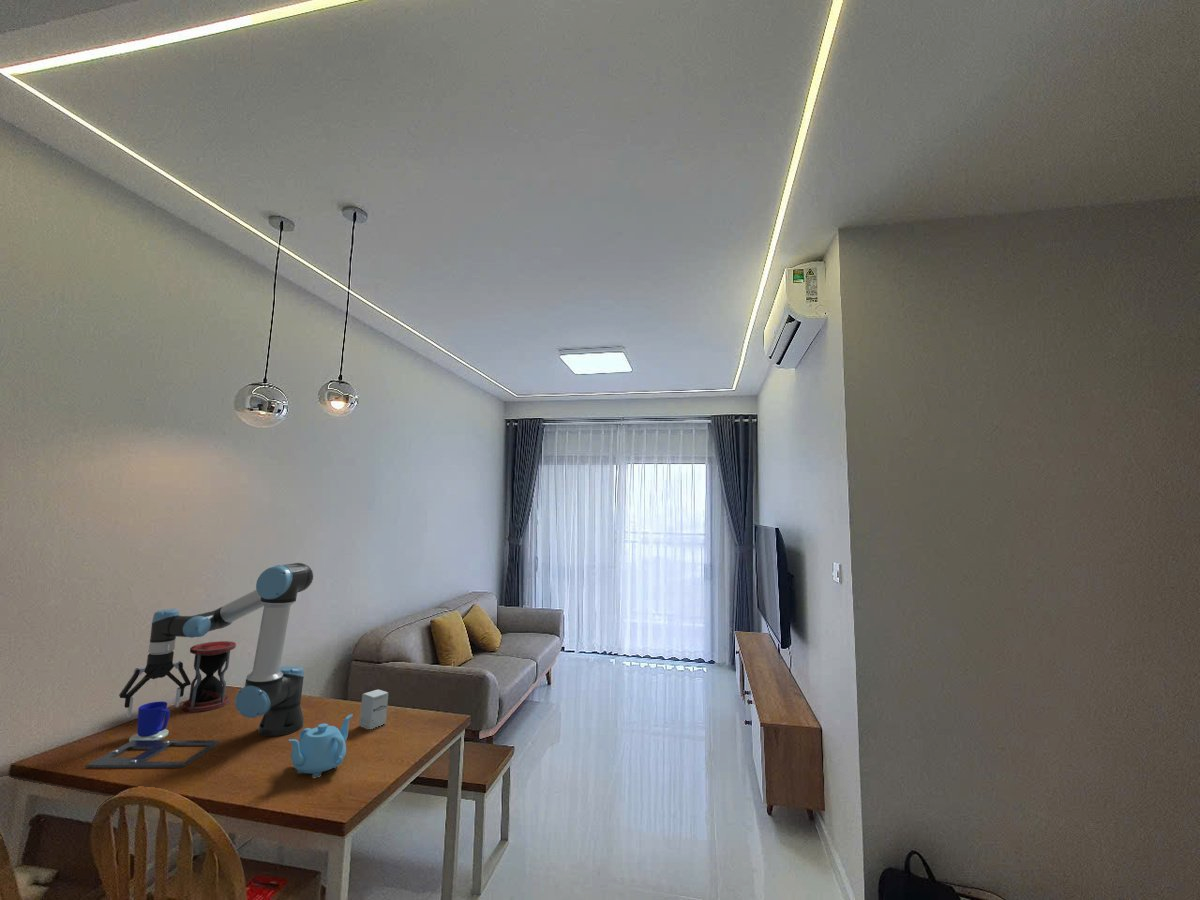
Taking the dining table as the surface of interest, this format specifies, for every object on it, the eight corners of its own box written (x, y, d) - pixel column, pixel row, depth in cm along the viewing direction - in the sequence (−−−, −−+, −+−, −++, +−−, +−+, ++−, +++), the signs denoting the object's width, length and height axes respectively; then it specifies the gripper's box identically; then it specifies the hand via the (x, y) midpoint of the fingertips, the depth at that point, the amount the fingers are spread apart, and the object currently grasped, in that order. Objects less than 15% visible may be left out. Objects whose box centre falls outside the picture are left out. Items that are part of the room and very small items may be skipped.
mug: (153, 741, 182) (157, 712, 184) (128, 736, 185) (132, 707, 186) (176, 731, 190) (180, 704, 191) (152, 727, 193) (156, 700, 194)
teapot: (282, 786, 157) (288, 739, 159) (298, 757, 175) (302, 715, 177) (340, 780, 162) (344, 734, 164) (349, 752, 180) (353, 711, 182)
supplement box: (369, 731, 198) (372, 697, 200) (358, 726, 202) (361, 693, 204) (386, 724, 205) (389, 692, 206) (375, 720, 209) (377, 688, 210)
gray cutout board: (219, 743, 184) (219, 739, 184) (182, 767, 166) (183, 763, 166) (132, 743, 182) (132, 739, 182) (85, 768, 164) (86, 763, 164)
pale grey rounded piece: (175, 731, 193) (176, 728, 193) (152, 743, 182) (153, 741, 182) (145, 730, 192) (145, 728, 192) (120, 743, 181) (120, 741, 181)
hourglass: (203, 697, 227) (210, 640, 230) (237, 699, 226) (244, 641, 229) (171, 711, 211) (180, 649, 214) (208, 713, 210) (216, 651, 213)
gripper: (199, 644, 203) (192, 699, 200) (114, 656, 184) (105, 717, 181) (204, 647, 198) (197, 704, 195) (117, 660, 179) (108, 723, 176)
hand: (153, 711), depth 188 cm, fingers open, 13 cm apart
